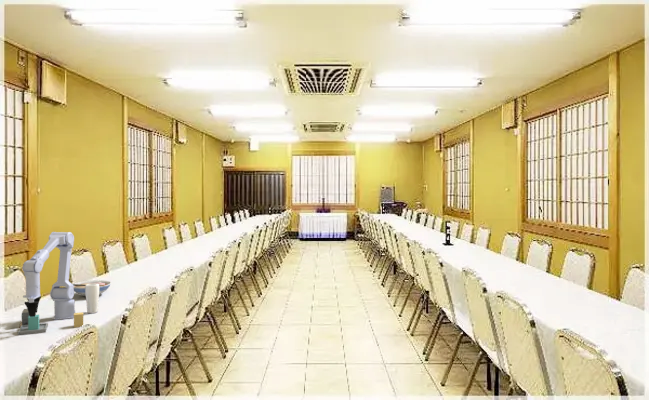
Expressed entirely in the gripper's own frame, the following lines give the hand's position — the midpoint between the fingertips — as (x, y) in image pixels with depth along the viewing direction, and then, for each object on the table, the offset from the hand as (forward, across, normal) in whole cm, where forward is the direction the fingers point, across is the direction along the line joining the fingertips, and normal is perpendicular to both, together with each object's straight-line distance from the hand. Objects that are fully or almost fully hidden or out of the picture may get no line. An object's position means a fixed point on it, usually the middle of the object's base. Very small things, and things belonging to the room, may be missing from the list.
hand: (33, 314), depth 231 cm
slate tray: (+8, 0, 0) cm, 8 cm away
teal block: (+7, 0, 0) cm, 7 cm away
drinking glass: (+8, -25, +25) cm, 36 cm away
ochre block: (+8, 0, +19) cm, 20 cm away
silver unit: (+8, -12, -3) cm, 14 cm away
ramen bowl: (+8, -69, +24) cm, 73 cm away
